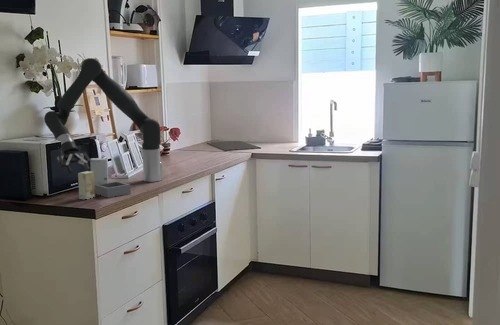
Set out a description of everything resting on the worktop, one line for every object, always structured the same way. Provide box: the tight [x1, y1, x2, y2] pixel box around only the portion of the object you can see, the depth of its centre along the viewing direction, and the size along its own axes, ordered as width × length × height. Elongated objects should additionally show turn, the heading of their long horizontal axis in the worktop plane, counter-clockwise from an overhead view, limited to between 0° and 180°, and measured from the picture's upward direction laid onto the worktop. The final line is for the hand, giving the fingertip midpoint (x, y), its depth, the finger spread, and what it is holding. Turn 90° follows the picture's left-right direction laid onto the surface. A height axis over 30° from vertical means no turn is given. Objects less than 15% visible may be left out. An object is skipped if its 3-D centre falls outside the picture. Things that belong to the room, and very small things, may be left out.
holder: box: [95, 180, 132, 199], centre depth 239 cm, size 12×12×4 cm
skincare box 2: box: [89, 157, 109, 185], centre depth 254 cm, size 8×6×15 cm
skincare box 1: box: [77, 170, 96, 200], centre depth 230 cm, size 6×4×12 cm
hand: (79, 171), depth 234 cm, fingers open, 8 cm apart
